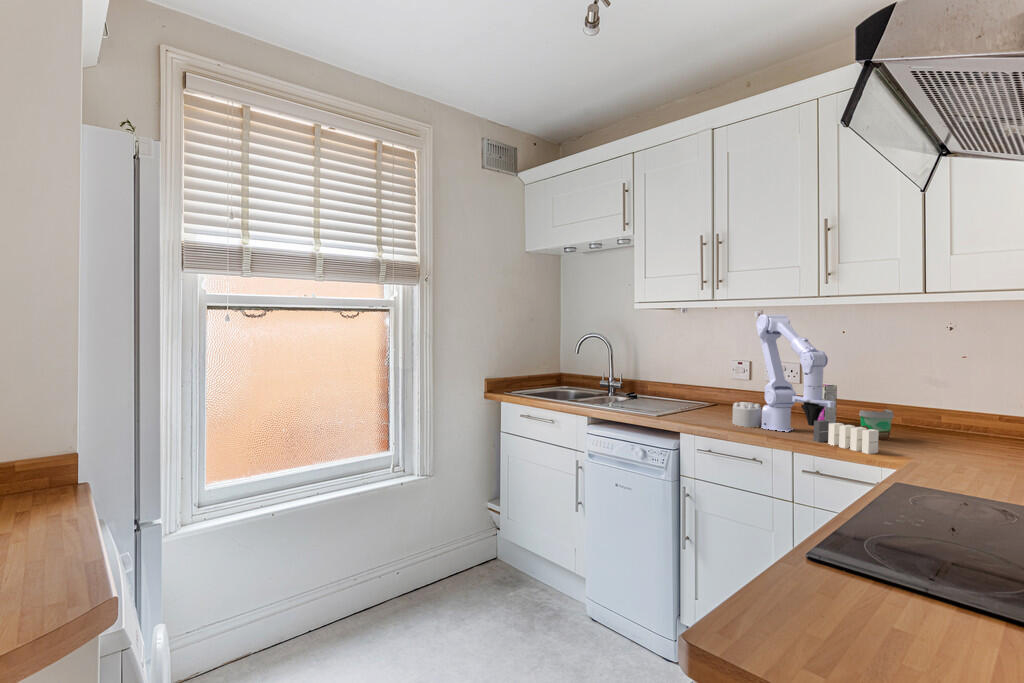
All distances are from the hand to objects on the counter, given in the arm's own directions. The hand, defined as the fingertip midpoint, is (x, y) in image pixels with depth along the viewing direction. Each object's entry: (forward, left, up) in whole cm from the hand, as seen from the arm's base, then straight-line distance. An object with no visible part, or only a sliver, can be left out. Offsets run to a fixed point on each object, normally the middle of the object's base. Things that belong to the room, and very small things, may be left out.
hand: (812, 425), depth 176 cm
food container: (+17, +18, -5) cm, 25 cm away
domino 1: (+8, -4, -5) cm, 10 cm away
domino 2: (+11, -5, -5) cm, 13 cm away
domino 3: (+15, -7, -5) cm, 17 cm away
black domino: (+3, -1, -5) cm, 6 cm away
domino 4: (+18, -8, -5) cm, 20 cm away
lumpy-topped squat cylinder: (-26, +11, -5) cm, 28 cm away
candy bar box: (-5, +37, -5) cm, 37 cm away
